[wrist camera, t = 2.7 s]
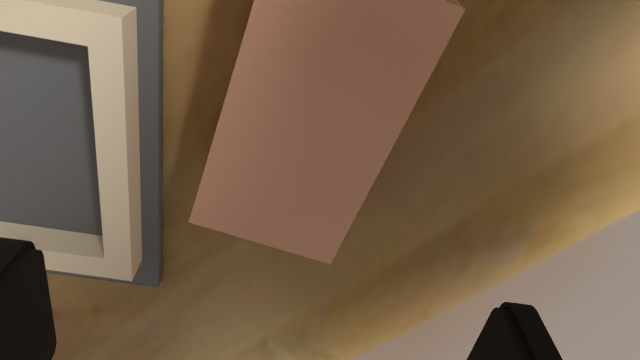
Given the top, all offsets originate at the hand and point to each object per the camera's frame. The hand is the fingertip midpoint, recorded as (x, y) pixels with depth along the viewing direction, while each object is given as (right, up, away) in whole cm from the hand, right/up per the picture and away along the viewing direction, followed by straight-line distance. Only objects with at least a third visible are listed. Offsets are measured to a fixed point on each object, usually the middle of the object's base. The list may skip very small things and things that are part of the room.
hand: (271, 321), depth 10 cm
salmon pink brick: (+1, +7, +10) cm, 12 cm away
